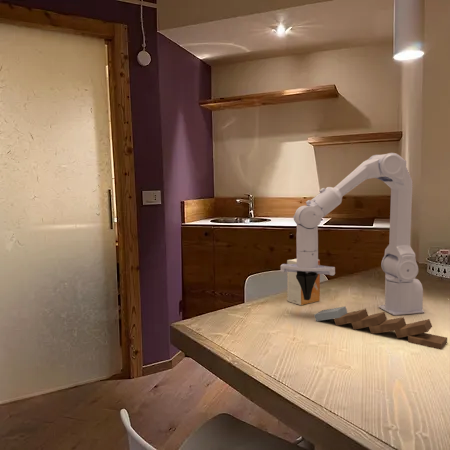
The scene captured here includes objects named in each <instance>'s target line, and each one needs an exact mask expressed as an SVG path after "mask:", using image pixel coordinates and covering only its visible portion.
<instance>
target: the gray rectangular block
mask: <svg viewBox="0 0 450 450" xmlns="http://www.w3.org/2000/svg"><path fill="white" fill-rule="evenodd" d="M347 313H348V310H347V307H346V306H341V307H334V308H328V309H323V310H321V311H318V312H317V313H315V314H313V315H314V319H315V322H321V321H326V320H327V321H328V320H334V319H335V318H340V317H341V316H343V315H345V314H347Z"/></svg>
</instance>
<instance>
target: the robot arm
mask: <svg viewBox="0 0 450 450" xmlns="http://www.w3.org/2000/svg"><path fill="white" fill-rule="evenodd" d="M368 179H377V180H380V181H382V182H383V183H384V184H385V185H387V186H388V187H389V188H390V208H389V209H390V210H389V211H390V212H389V214H390V215H389V238H388V239H389V241H388V243H389V244H387V246H386V248H385V249H384V255H383V257H382V260H381V264H380V266H381V267H380V268H381V269H382V271H383V272H384V273H385V276H384V279H385V280H384V284H385V285H384V304H382V305H381V304H380V305H379V304H378V308H380V309H381V310H383V311H384V312H387V313H388V314H390V315H393V316H401V315H402V316H403V315H411V314H421V313H422V314H423V313H425V310H424V308H423V306H424V305H423V304H424V302H423V301H424V299H423V298H424V289H423V284H422V283H421V281H420V280H419V279H418V278H417V275H418V274H419V266H418V263H417V260H416V256H417V255H416V252H415V251H414V249H413V248H412V247H411V234H412V233H411V232H412V231H411V230H412V229H411V228H412V208H413V207H412V205H413V203H412V202H413V183H414V182H413V179H412V176H411V174H410V172H409V170H408V167H407V160H405V158H403V157H402V156H401V155H400V154H398V153H395V152H388V153H383V154H373V155H371V156H370V157H369V158H368V159H366V160H364V161H362V162H361V164H359V165H357V167H356V168H355V169H354V170H353V171H351V172H350V173H349V174H347V176H346V177H345V178H343V179H342V180H341V181H340V182H338V183H337V185H335V186H334V187H332V186H327V187H326V188H325V187H322V188H320V189H319V193H318V194H317V195H315V196H314V197H313V198H312V199H308V200H307V201H305V204H306V205H301V206H299V207H298V208H296V210H295V213H294V215H293V220H294V222H295V224H296V234H295V236H296V240H295V241H296V242H295V243H296V259H297V264H287V263H282V264H281V265H280V273H287V272H297V275H296V278H297V280H298V282H299V284H300V286H301V289H302V292H303V296H304V300H310V299H311V293H312V289H313V286H314V283H315V281H316V279H317V277H318V274H320V275H329V276H335V274H336V267H335V266H328V265H321V264H320V265H318V260H319V232H318V231H319V230H318V229H319V225H320V224H321V222H322V219H323V218H325V217H326V216H327V215H328V214H330V213H331V212H332V211H333V210H335V209H336V208H337V207H338V206H339V205H341V204H342V201H343V196H345V195H347V194H348V193H350V192H351V191H352V190H354V189H355V188H356V187H358V186H359V185H360V184H362V183H363V182H365V181H366V180H368Z"/></svg>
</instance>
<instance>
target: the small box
mask: <svg viewBox="0 0 450 450" xmlns="http://www.w3.org/2000/svg"><path fill="white" fill-rule="evenodd" d="M286 264H297V258H294V259H287V260H286ZM318 265H321V259H318ZM286 273H287V274H286V275H287V280H286V281H287V285H286V286H287V291H286V292H287V296H286V297H287V302H290V303H293V304H295V305H299V306H303V305H307V304H311V303H317V302H320V300H321V291H320V290H321V289H320V288H321V282H320V281H321V274H318V277H317V279H316V281H315V283H314V286H313V289H312V293H311V299H310V300H304V296H303V292H302V289H301V286H300V284H299V282H298V280H297V278H296V275H297V272H286Z"/></svg>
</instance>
